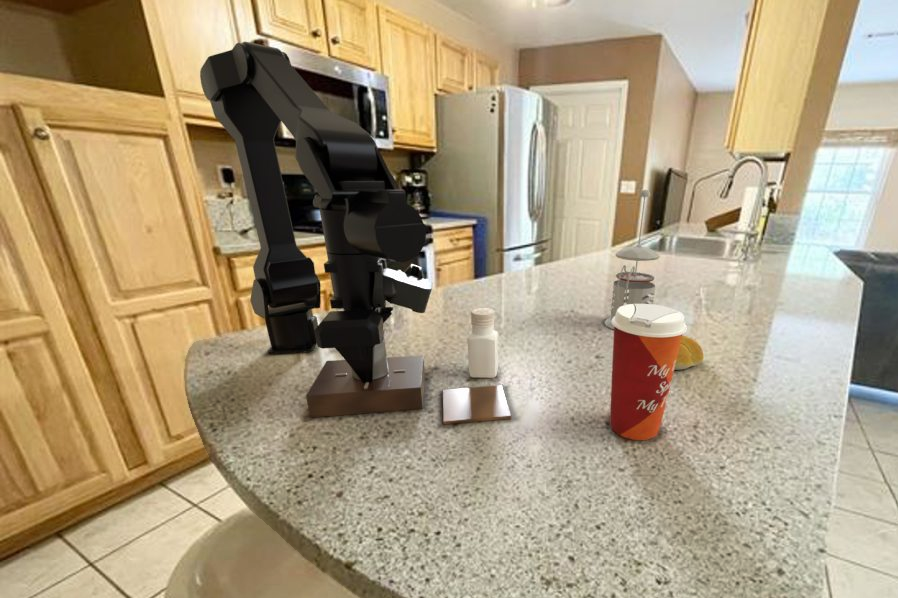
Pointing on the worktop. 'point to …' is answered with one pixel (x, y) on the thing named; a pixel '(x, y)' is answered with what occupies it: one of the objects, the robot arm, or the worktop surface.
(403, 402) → the panel
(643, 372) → the paper cup
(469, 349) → the pepper shaker
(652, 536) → the worktop surface
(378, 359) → the knob
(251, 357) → the worktop surface
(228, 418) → the worktop surface
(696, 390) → the worktop surface
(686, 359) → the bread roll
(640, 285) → the french press
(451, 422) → the coaster
